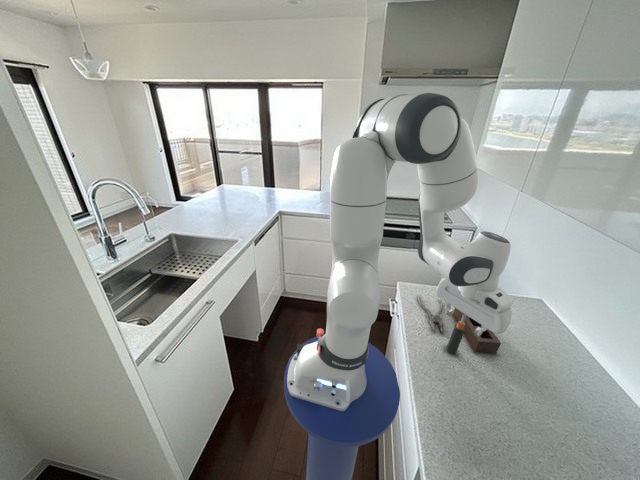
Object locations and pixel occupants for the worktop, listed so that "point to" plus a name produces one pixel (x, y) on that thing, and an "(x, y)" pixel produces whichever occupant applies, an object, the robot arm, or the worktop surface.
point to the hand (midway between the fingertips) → (462, 323)
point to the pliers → (434, 318)
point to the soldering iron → (456, 336)
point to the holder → (478, 343)
